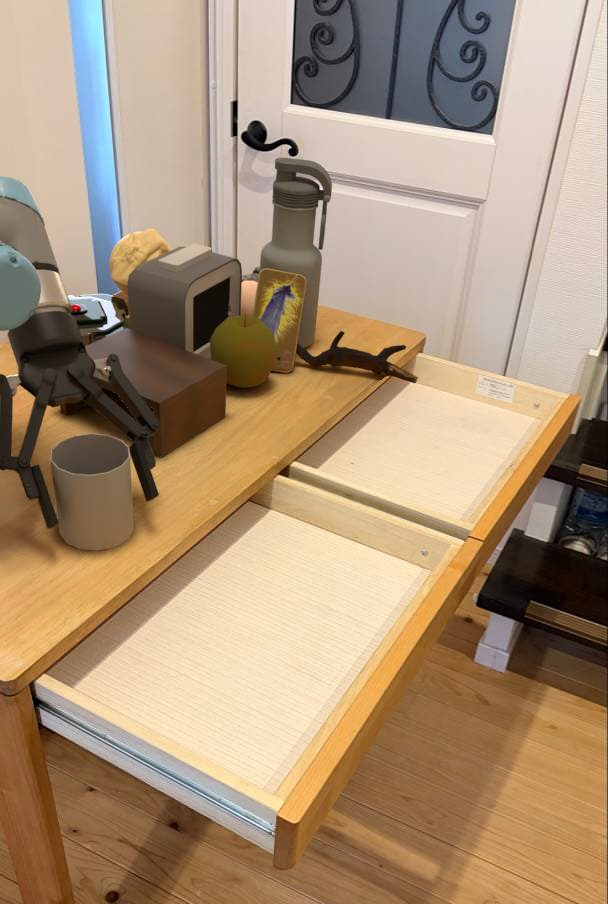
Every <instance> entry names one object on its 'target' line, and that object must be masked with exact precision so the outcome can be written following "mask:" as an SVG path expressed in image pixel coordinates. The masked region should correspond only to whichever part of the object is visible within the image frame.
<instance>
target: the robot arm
mask: <svg viewBox="0 0 608 904" xmlns="http://www.w3.org/2000/svg"><path fill="white" fill-rule="evenodd" d="M39 209H40V208H39V207H38V204H37V202H36V199H35V197H34V195H33V193H32V191H31V190H30V188H29V187H28V186H27V185H26V184H25V183H24V182H22V181H21V180H19V179H16V178H13V177H10V176H9V177H8V176H0V332H4V331H7V338H8V342H9V344H10V347H11V351H12V354H13V356H14V359H15V362H16V365H17V368H18V369H17V370H18V373H16V374H11V375H5V374H3V373H0V471H3V472H4V471H13V472H15V473H17V474H18V476H19V480H20V482H21V485H22V488H23V492H24V494H25V497H26V498H27V499H28V501H33V500H37V502H38V505H39V508H40V511H41V514H42V517H43V520H44V523H45V526H46V528H47V530H49V529H54V528H56V526H57V525H59V524H58V523H59V522H58V517H57V512H56V509H55V507H54V504H53V501H52V499H51V494H50V493H49V488H48V486H47V483H46V480H45V478H44V475H43V472H42V468H41V466H40V463H38V464H34V465H31V462H32V458H33V456H34V455H33V454H34V451H35V448H36V445H37V441H38V438H39V434H40V431H41V427H42V424H43V420H44V417H45V414H46V410H47V407H51V408H52V409H53V408H57V407H60V405H62V404H64V403H77V402H79V401H80V400H83V401H84V402H85V403H86V404H87V406H89V407H92V408H93V409H94V410H95V411H97V412H98V413H99V415H101V416H102V417H103V418H104V419H105V420H107V421H108V422H109V423H110V424H111V425H112V426H114V427H115V428H116V429H117V430H118V431H120V432H121V433H122V435H124V436H125V437H127V439H129V440H130V442H132V443H131V444H130V445H129V446H128V447H129V450H130V459H131V460H132V463H133V466H134V469H135V472H136V476H137V478H138V482H139V485H140V487H141V490H142V493H143V496H144V499H145V502H151V501H153V500H154V499H156V498H157V497H159V496H160V493H159V491H158V487H157V484H156V482H155V478H154V476H153V472H152V470H153V469H154V468H155V467H156V466H157V460H156V458H155V454H154V452H153V451H154V450H153V448H152V446H151V442H150V437H152V436H154V434H155V433H156V432H157V431H158V430H159V428H160V427H161V424H160V422H159V420H158V419H157V418H156V416H155V415H154V414H153V410H151V408H150V407H148V405H147V404H146V403H145V401H144V400H143V399H142V397H141V396H140V394H139V393H138V392H137V390H136V389H135V388H134V386H133V385H132V383H131V382H130V381H129V379H128V378H127V377H126V375H125V374H124V373H123V370H122V367H121V364H120V361H119V358H118V356H117V355H116V354H110V355H109V356H108V358H104V359H97V360H93V359H92V358H91V357H90V356H89V355H88V353H87V351H86V349H85V345H84V342H83V339H82V336H81V333H80V330H79V327H78V324H77V321H76V319H75V317H74V316H73V315H71V312H72V306H71V303H70V301H69V298H68V296H69V295H68V292H67V290H66V286H65V284H64V281H63V279H62V276H61V273H60V271H59V270H60V269H59V266H58V263H57V261H56V257H55V254H54V251H53V249H52V245H51V242H50V239H49V236H48V233H47V231H46V230H47V229H46V224H45V221H44V217H43V216H42V214H41V212H40V210H39ZM95 371H97V372H99V373H100V374H101V375H102V377H103V378H107V379H108V381H109V383H110V385H111V387H112V388H113V389H114V391H115V392H116V393H117V394H116V393H115V394H116V395H117V397H119V399H120V400H121V402H122V403H123V405H124V406H125V407H126V408H127V410H128V411H129V413H130V414H131V415H132V416H133V417H132V416H131V415H130V414H129V413H128V412H126V411H125V410H124V409H123V408H122V407H120V405H118V404H117V403H116V402H115V400H113V399H112V398H111V397H109V396H108V395H106V394H105V393H104V392H103V390H102V389H101V388H100V387H99V386H98V385H97V384H96V383H95V382H94V381H93V380H92V378H93V375H94V372H95ZM19 386H20V387H21V388H23V390H25V391H27V392H28V393H29V394H31V395H32V396H33V397H34V401H33V404H32V408H31V411H30V414H29V418H28V423H27V426H26V429H25V432H24V435H23V439H22V442H21V446H20V448H19V453H18V456H17V455H12V451H13V450H12V449H13V448H12V445H13V412H14V411H13V409H14V408H13V407H14V399H13V397H15V396H16V394H17V393H18V387H19Z"/></svg>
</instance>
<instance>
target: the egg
mask: <svg viewBox="0 0 608 904" xmlns="http://www.w3.org/2000/svg"><path fill="white" fill-rule="evenodd" d="M257 284H258V282H255V281H243V282H242V285H241V314H240V315H241V316H245V314H246V316H250V317H253V310H254V304H255V297H256V290H257Z"/></svg>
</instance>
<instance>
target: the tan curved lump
mask: <svg viewBox="0 0 608 904" xmlns="http://www.w3.org/2000/svg"><path fill="white" fill-rule="evenodd" d="M171 250H173V248H172V246H171V245H170V244H169V243H168V242H167V240H165V239H164V238H163V237H162V236H161V234H160V233H159V232H158V231H157V230H156V229H154V228H148V229H145V230H143V231H134V232H129V234H127V235H125V236H123V237H122V238H121V239H119V240H118V241H117V243H116V244H115V245H114V247H113V249H112V251H111V253H110V256H109V261H108V263H109V264H108V266H109V267H108V268H109V273H110V276H111V280H112V281H113V282H114V284H115V285H116V287H117V288H118V289H119V290H120V291H121V292H122V293H123V294H124V295H126V296H127V297H128V284H127V283H128V278H129V274H130V273H131V272H132V271H133V270H134V269H135V268H136V267H137V266H139V265H141V264H143V263H145V262H147V261H149V260H152V259H154V258H156V257H158V256H160V255H162V254H165V253H167V252H169V251H171Z"/></svg>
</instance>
